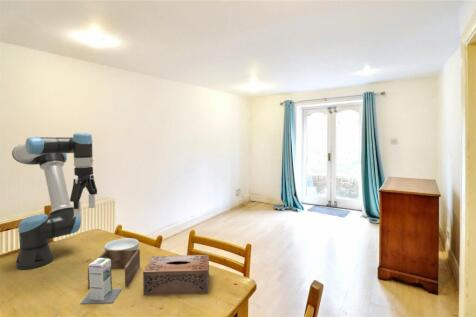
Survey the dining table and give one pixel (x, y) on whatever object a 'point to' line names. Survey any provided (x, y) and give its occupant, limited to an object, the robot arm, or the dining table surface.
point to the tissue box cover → (176, 275)
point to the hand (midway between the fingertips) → (85, 211)
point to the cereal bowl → (122, 244)
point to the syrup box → (100, 279)
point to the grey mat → (109, 299)
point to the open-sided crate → (123, 262)
